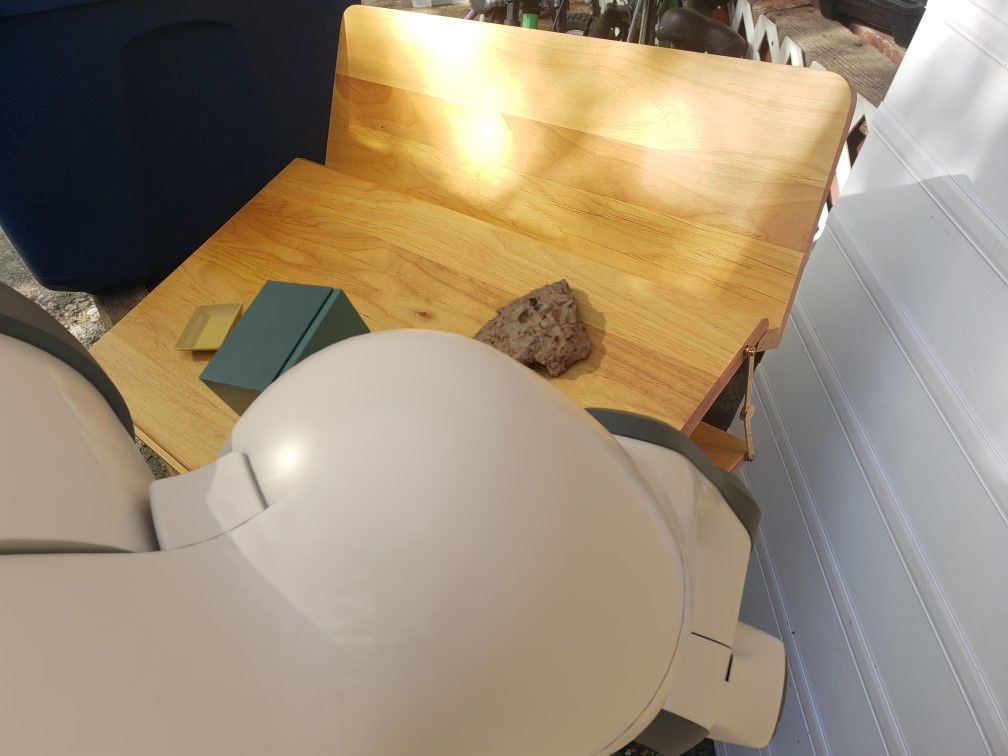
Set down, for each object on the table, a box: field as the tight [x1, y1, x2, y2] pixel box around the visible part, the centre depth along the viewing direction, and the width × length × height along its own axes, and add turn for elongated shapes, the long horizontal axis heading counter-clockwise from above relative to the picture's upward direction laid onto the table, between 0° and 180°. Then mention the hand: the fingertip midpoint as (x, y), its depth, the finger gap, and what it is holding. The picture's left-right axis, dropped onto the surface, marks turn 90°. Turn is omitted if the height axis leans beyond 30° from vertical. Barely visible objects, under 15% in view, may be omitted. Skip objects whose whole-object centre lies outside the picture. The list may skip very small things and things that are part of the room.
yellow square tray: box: [172, 301, 244, 352], centre depth 100 cm, size 9×9×2 cm
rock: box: [471, 278, 592, 377], centre depth 81 cm, size 14×13×4 cm
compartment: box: [197, 279, 335, 418], centre depth 81 cm, size 10×15×14 cm
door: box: [277, 287, 372, 379], centre depth 77 cm, size 7×15×13 cm, turn 158°
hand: (423, 580), depth 60 cm, fingers open, 5 cm apart
